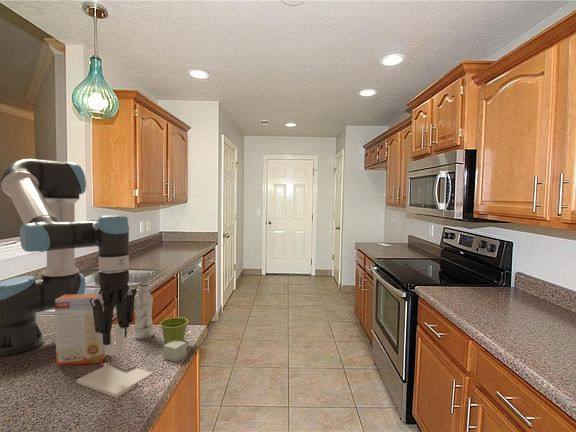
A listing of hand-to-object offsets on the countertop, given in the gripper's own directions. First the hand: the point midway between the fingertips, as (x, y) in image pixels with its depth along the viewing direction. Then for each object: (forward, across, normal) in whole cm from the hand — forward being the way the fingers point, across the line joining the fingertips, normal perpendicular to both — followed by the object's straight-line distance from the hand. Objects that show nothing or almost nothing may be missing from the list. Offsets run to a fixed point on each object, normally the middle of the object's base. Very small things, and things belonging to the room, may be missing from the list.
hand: (115, 352), depth 95 cm
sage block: (+8, +17, -6) cm, 20 cm away
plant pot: (+8, +24, +1) cm, 25 cm away
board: (+8, 0, 0) cm, 8 cm away
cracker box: (+8, +4, +19) cm, 21 cm away
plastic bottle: (+8, +23, +15) cm, 29 cm away
